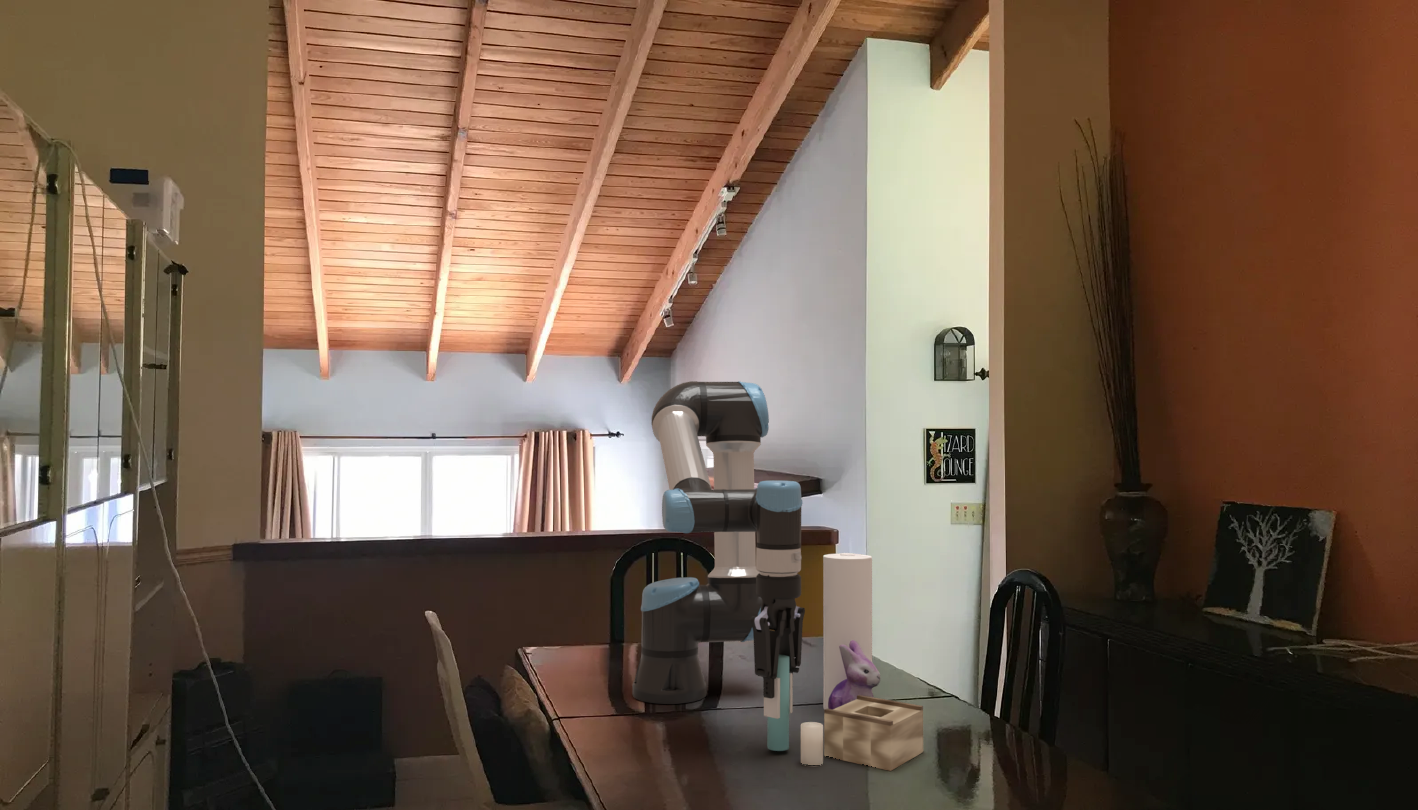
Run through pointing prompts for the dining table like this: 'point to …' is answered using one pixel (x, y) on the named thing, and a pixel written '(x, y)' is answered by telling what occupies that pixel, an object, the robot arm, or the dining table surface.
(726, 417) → the robot arm
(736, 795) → the dining table surface
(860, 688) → the figurine
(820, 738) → the cream peg
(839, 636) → the cylinder container
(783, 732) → the teal peg
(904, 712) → the socket block
